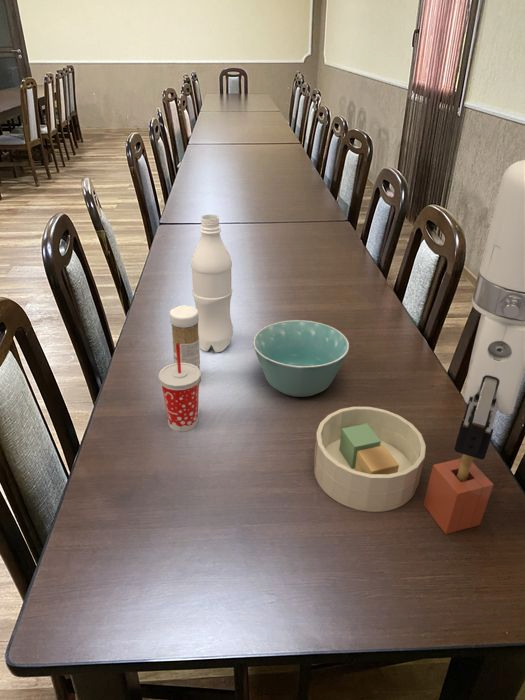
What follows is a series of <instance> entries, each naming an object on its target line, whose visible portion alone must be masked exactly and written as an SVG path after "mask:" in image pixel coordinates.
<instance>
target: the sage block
mask: <svg viewBox="0 0 525 700" xmlns="http://www.w3.org/2000/svg"><path fill="white" fill-rule="evenodd" d="M380 444H381V441H380V439H379V438H378V437H377V435H376V434H375V433H374V431H373V430H372V429H371V428H370V426H369V425H368V424H362V425H357V426H352V427H347V428H342V432H341V440H340V448H339V450H340V452H341V454H342V455H343V457H344V458H345V460H346V461H347V463H348V464H349V466H350V467H351V469H353V468H355V465H356V458H357V451H360V450H365V449H369V448H374V447H379V446H380Z"/></svg>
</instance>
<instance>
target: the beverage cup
mask: <svg viewBox="0 0 525 700" xmlns="http://www.w3.org/2000/svg"><path fill="white" fill-rule="evenodd" d="M176 352H177V363H174V362H173V363H169V364H167V365H166V366H164V367H162V368H161V369H160V371H159V372H158V382H159V383H160V385H161V390H162V396H163V403H164V405H165V406H164V408H165V414H166V419H167V425H168V427H169V428H170V429H171V430H173V431H175V432H188V431H191V430H193V429H194V428H196V427H197V425H198V424H199V394H200V393H199V390H200V382H201V381H202V375H201V369H200V370H199V368H198V367H197V366H195V365H193V364H189V363H181V362H180V347H179V343H177V344H176ZM200 377H201V378H200ZM199 381H200V382H199Z"/></svg>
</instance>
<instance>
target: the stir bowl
mask: <svg viewBox="0 0 525 700" xmlns="http://www.w3.org/2000/svg"><path fill="white" fill-rule="evenodd" d="M362 424H368V425H369V426H370V428H371V429H372V430H373V431H374V433H375V434H376V435H377V437H378V438H379V439H380V441H381V444H380V446H383V445H384V446H385V447H386V449H387V450H388V451H389V453H390V454H391V455H392V456H393V458H394V459H395V460H396V462H397V463H398V464H399V468H398V472H397V473H392V474H388V475H387V474H368V473H363V472H359V471H355V468H353V469H351V467H350V466H349V464H348V463H347V461H346V460H345V458H344V457H343V455H342V454H341V452H340V450H339V448H340V440H341V432H342V428H347V427H352V426H357V425H362ZM426 447H427V446H426V443H425V440H424V437H423V434H422V433H421V432H420V431H419V430H418V429H417V427H415V425H414V424H413V423H411V422H410V421H409V420H407V419H406V418H404V417H403V416H401V415H399V414H396V413H395V412H391V411H389V410H387V409H384V408H383V409H382V408H378V407H372V406H350V407H343V408H339V409H337V410H336V411H334V412H331V413H329V414H328V415H326V416H325V417H324V418H323V419H322V420H321V422H320V423H319V424H318V428H317V430H316V433H315V445H314V453H313V474H314V478H315V480H316V481H317V484H318V485H319V487H320V488H321V489H322V491H323V492H324V493H325V494H326V495H327V496H329V498H331V499H332V500H334V501H336V502H337V503H339V504H341V505H343V506H345V507H346V508H347V507H348V508H350V509H353V510H357V511H362V512H368V513H380V512H389V511H392V510H395V509H398V508H400V507H402V506H404V505H406V504H407V503H408V502H409V501H410V500H412V498H413V497H414V496H415V495H416V492H417V489H418V486H419V483H420V479H421V475H422V470H423V466H424V462H425V458H426V449H427V448H426Z"/></svg>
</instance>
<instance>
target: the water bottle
mask: <svg viewBox="0 0 525 700" xmlns="http://www.w3.org/2000/svg"><path fill="white" fill-rule="evenodd" d="M200 224H201V225H200V228H199V232H200V240H199V241H198V244H197V246H196V247H195V250H194V252H193V254H192V256H191V261H190V268H191V278H192V279H191V280H192V291H191V293H192V297H193V300H194V305H195V308H196V309H197V310H198V315H199V321H198V336H199V349H200V350H202V351H204V352H208V351H209V350H210V348H211V347H212V349H213V351H214V353H220V352H223V351H225V350H226V348H227V347H229V346H230V344H231V342H232V340H233V337H234V326H233V325H234V324H233V322H232V317H231V299H232V295H233V288H232V267H233V262H232V257H231V254H230V253H229V251H228V249H227V247H226V246H225V244H224V242H223V240H222V238H221V232H222V230H221V225H220V217H219V216H218V215H216V214H205V215H202V216H200Z"/></svg>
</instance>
